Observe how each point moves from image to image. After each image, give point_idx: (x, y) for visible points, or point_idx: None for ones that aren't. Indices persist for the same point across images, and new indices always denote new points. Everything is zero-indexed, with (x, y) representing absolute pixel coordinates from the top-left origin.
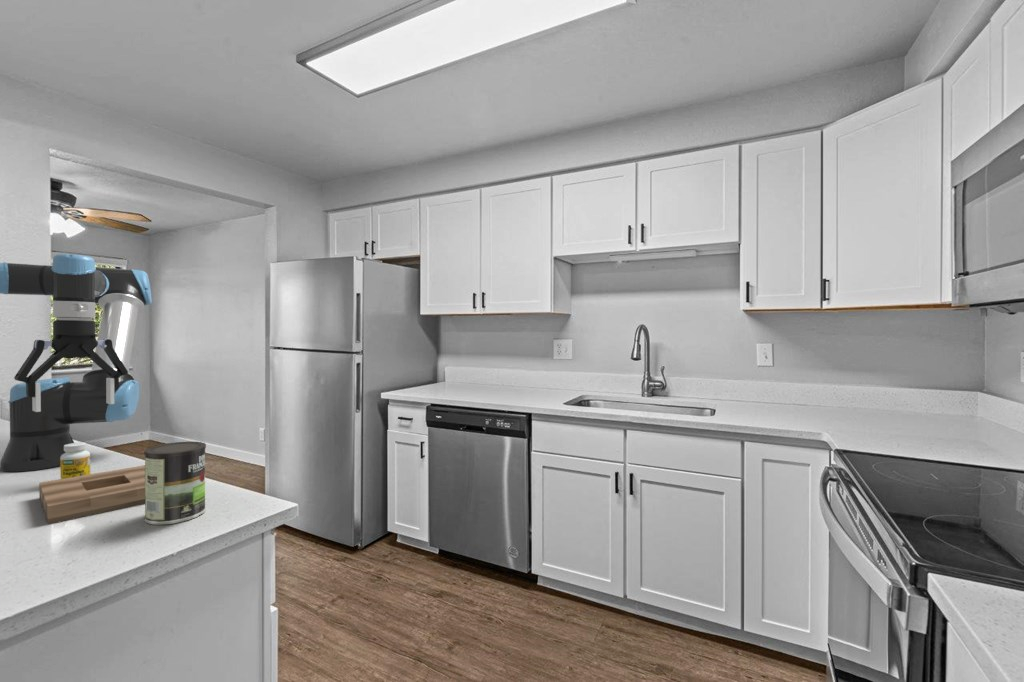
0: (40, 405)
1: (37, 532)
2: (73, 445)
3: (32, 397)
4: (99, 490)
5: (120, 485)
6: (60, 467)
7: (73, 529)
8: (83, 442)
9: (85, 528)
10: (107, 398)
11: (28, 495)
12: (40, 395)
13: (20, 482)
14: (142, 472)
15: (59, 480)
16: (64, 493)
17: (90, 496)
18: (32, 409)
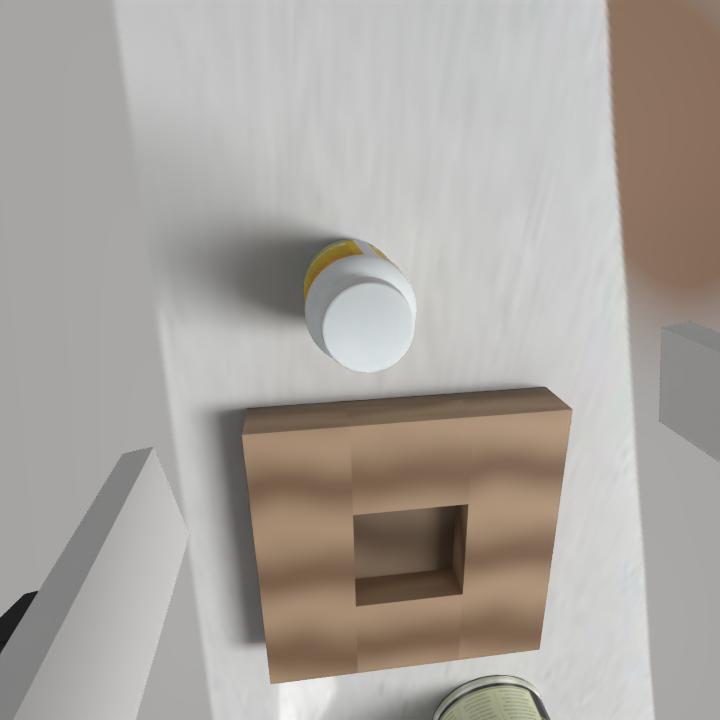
0: (176, 576)
1: (255, 676)
2: (360, 356)
3: (71, 547)
4: (383, 623)
5: (434, 608)
6: (304, 302)
7: (315, 694)
8: (407, 303)
9: (335, 700)
10: (697, 374)
11: (214, 347)
12: (150, 661)
13: (168, 97)
14: (517, 504)
15: (298, 446)
16: (306, 602)
17: (358, 660)
18: (119, 463)
